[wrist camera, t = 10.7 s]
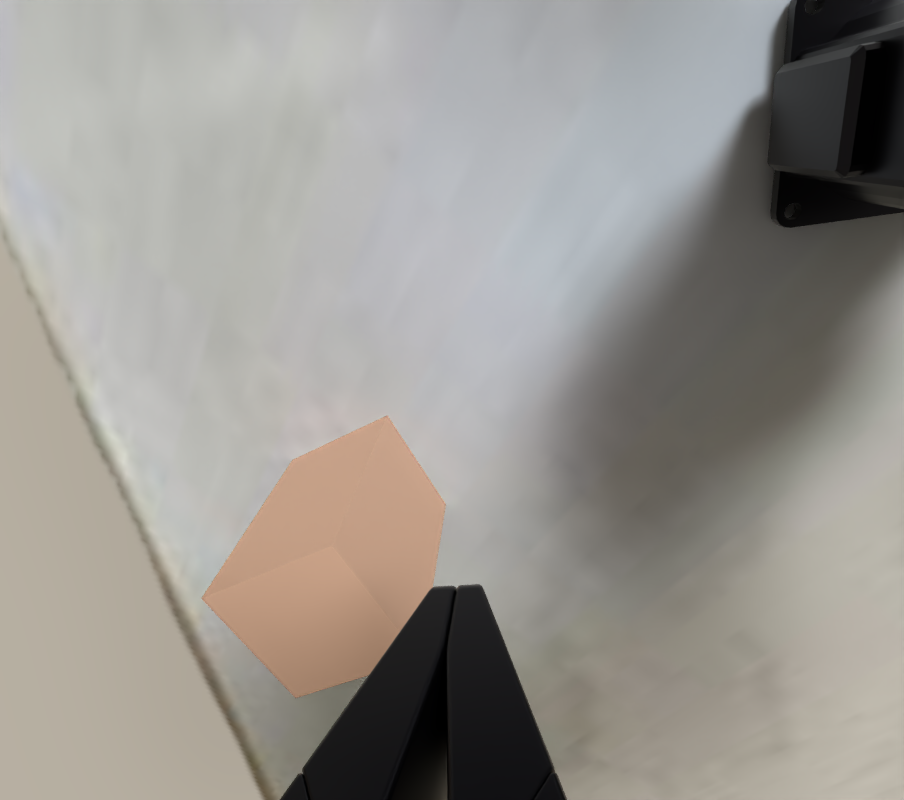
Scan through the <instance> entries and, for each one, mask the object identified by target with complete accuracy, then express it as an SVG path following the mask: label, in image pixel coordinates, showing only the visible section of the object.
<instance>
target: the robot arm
mask: <svg viewBox="0 0 904 800" xmlns="http://www.w3.org/2000/svg"><path fill="white" fill-rule="evenodd" d="M805 3H806V0H792V1H791V2H790V6H789V10H788V21H787V33H786V44H785V55H784V65H783V66H782V67H781V68H780V70H779V71H778V72H777V73H776V75H775V79H774V91H773V103H772V115H771V127H770V139H769V151H768V164H769V165H770V166H771V167H772V168H773V169H774V179H773V190H772V202H771V219H772V220H773V222H774V223H776V224H777V225H779V226H783V227H789V228H792V227H799V226H807V225H814V224H821V223H828V222H835V221H843V220H850V219H857V218H864V217H872V216H879V215H886V214H893V213H901V212H904V0H817V8H816V11H815V12H814V13H813V14H812V15H811V14H808V13H807V12H806V11H805ZM792 203H794V204H795V208H796V209H795V212H794V214H793V215H792V216H791V217H788V218H786V217H785V215H784V212H785V209H786V208H787V206H788V205H790V204H792ZM302 771H303V774H301V773H300V774H298V775H297V777H296V778H295V779H294V781H293V782H292V784H291V785H290V786H289V788H288V789H287V791H286V792H285V793H284V795H283V796H282V798H281V799H280V800H567V798H566V796H565V793H564V791H563V788H562V786H561V783H560V780H559V778H558V775H557V774H556V773H555V770H554V766H553V764H552V761H551V758H550V756H549V753H548V751H547V748H546V746H545V743H544V741H543V738H542V736H541V733H540V731H539V728H538V726H537V723H536V721H535V718H534V716H533V713H532V710H531V708H530V705H529V703H528V700H527V698H526V695H525V693H524V690H523V688H522V685H521V683H520V680H519V678H518V675H517V673H516V670H515V668H514V665H513V663H512V660H511V657H510V655H509V652H508V650H507V647H506V645H505V642H504V640H503V637H502V635H501V632H500V630H499V627H498V625H497V622H496V620H495V617H494V615H493V612H492V610H491V607H490V604H489V602H488V599H487V597H486V594H485V592H484V589H483V587H482V586H481V585H479V584H475V585H460V586H458V588H457V589H456V587H454V586H438V587H433V588H431V589H430V590H429V591H428V593H427V594H426V596H425V597H424V598H423V600H422V601H421V603H420V604H419V605H418V607H417V608H416V610H415V611H414V612H413V614H412V615H411V617H410V618H409V619H408V621H407V622H406V624H405V625H404V626H403V628H402V629H401V631H400V632H399V634H398V635H397V636H396V638H395V639H394V641H393V642H392V643H391V645H390V646H389V648H388V649H387V650H386V652H385V653H384V655H383V656H382V657H381V659H380V660H379V662H378V663H377V664H376V666H375V667H374V669H373V670H372V671H371V673H370V674H369V676H368V677H367V679H366V680H365V681H364V683H363V684H362V686H361V687H360V688H359V690H358V691H357V693H356V694H355V695H354V697H353V698H352V700H351V701H350V702H349V704H348V705H347V707H346V708H345V709H344V711H343V712H342V714H341V715H340V717H339V718H338V719H337V721H336V722H335V724H334V725H333V726H332V728H331V729H330V731H329V732H328V733H327V735H326V736H325V738H324V739H323V740H322V742H321V743H320V745H319V746H318V747H317V749H316V750H315V752H314V753H313V754H312V756H311V757H310V759H309V760H308V762H307V763H306V764H305V766H304V767H303V769H302Z"/></svg>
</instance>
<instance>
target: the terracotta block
mask: <svg viewBox="0 0 904 800" xmlns="http://www.w3.org/2000/svg"><path fill="white" fill-rule="evenodd" d="M445 507H446V504H445V502H444V501H443V499H442V498H441V496H440V495H439V493H438V492H437V490H436V489H435V487H434V486H433V484H432V483H431V481H430V480H429V478H428V476H427V475H426V473H425V472H424V470H423V469H422V467H421V466H420V464H419V463H418V461H417V460H416V458H415V457H414V455H413V454H412V452H411V451H410V449H409V448H408V446H407V445H406V443H405V442H404V440H403V438H402V437H401V435H400V434H399V432H398V431H397V429H396V428H395V426H394V425H393V423H392V422H391V420H390V419H389V417H388V416H385V417H383V418H381V419H379V420H376V421H374V422H372V423H370V424H368V425H366V426H364V427H362V428H359V429H357V430H355V431H353V432H351V433H349V434H347V435H345V436H342V437H340V438H338V439H336V440H334V441H332V442H330V443H328V444H325V445H323V446H321V447H319V448H317V449H315V450H313V451H311V452H308V453H306V454H304V455H302V456H300V457H298V458H296V459H294V460H292V461H291V463H290V464H289V466H288V467H287V469H286V471H285V472H284V474H283V475H282V477H281V478H280V480H279V481H278V483H277V484H276V486H275V487H274V489H273V490H272V492H271V493H270V495H269V496H268V498H267V499H266V501H265V502H264V504H263V505H262V507H261V509H260V510H259V512H258V513H257V515H256V516H255V518H254V519H253V521H252V522H251V524H250V525H249V527H248V528H247V530H246V531H245V533H244V534H243V536H242V537H241V539H240V540H239V542H238V543H237V545H236V547H235V548H234V550H233V551H232V553H231V554H230V556H229V557H228V559H227V560H226V562H225V563H224V565H223V566H222V568H221V569H220V571H219V572H218V574H217V575H216V577H215V578H214V580H213V581H212V583H211V585H210V586H209V588H208V589H207V591H206V592H205V594H204V595H203V597H202V598H201V599H202V600H203V601H204V602H205V603H206V604H207V605H208V606H209V607H210V608H211V609H212V610H213V611H214V612H215V613H216V614H217V616H218V617H219V618H220V619H221V620H222V621H223V622H224V623H225V624H226V625H227V626H228V627H229V628H230V629H231V630H232V631H233V632H234V634H235V635H236V636H237V637H238V638H239V639H240V640H241V641H242V642H243V643H244V644H245V645H246V646H247V647H248V648H249V649H250V650H251V651H252V653H253V654H254V655H255V656H256V657H257V658H258V659H259V660H260V661H261V662H262V663H263V664H264V665H265V666H266V667H267V668H268V669H269V671H270V672H271V673H272V674H273V675H274V676H275V677H276V678H277V679H278V680H279V681H280V682H281V683H282V684H283V685H284V686H285V687H286V689H287V690H288V691H289V692H290V693H291V694H292V695H293V696H294V697H295V698H298V697H301V696H304V695H307V694H310V693H314V692H317V691H320V690H323V689H326V688H330V687H333V686H336V685H339V684H342V683H346V682H349V681H352V680H355V679H358V678H361V677H365V676H368V675H369V674H370V673H371V671H372V670H373V669H374V667H375V666H376V664H377V663H378V662H379V660H380V659H381V657H382V656H383V655H384V653H385V652H386V650H387V649H388V648H389V646H390V645H391V643H392V642H393V641H394V639H395V638H396V636H397V635H398V634H399V632H400V631H401V629H402V628H403V626H404V625H405V624H406V622H407V621H408V619H409V618H410V617H411V615H412V614H413V612H414V611H415V610H416V608H417V607H418V605H419V604H420V603H421V601H422V600H423V598H424V597H425V596H426V594H427V593H428V591H429V590H430V589H431V588H433V582H434V576H435V569H436V563H437V557H438V550H439V544H440V538H441V532H442V525H443V519H444V513H445Z"/></svg>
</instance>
